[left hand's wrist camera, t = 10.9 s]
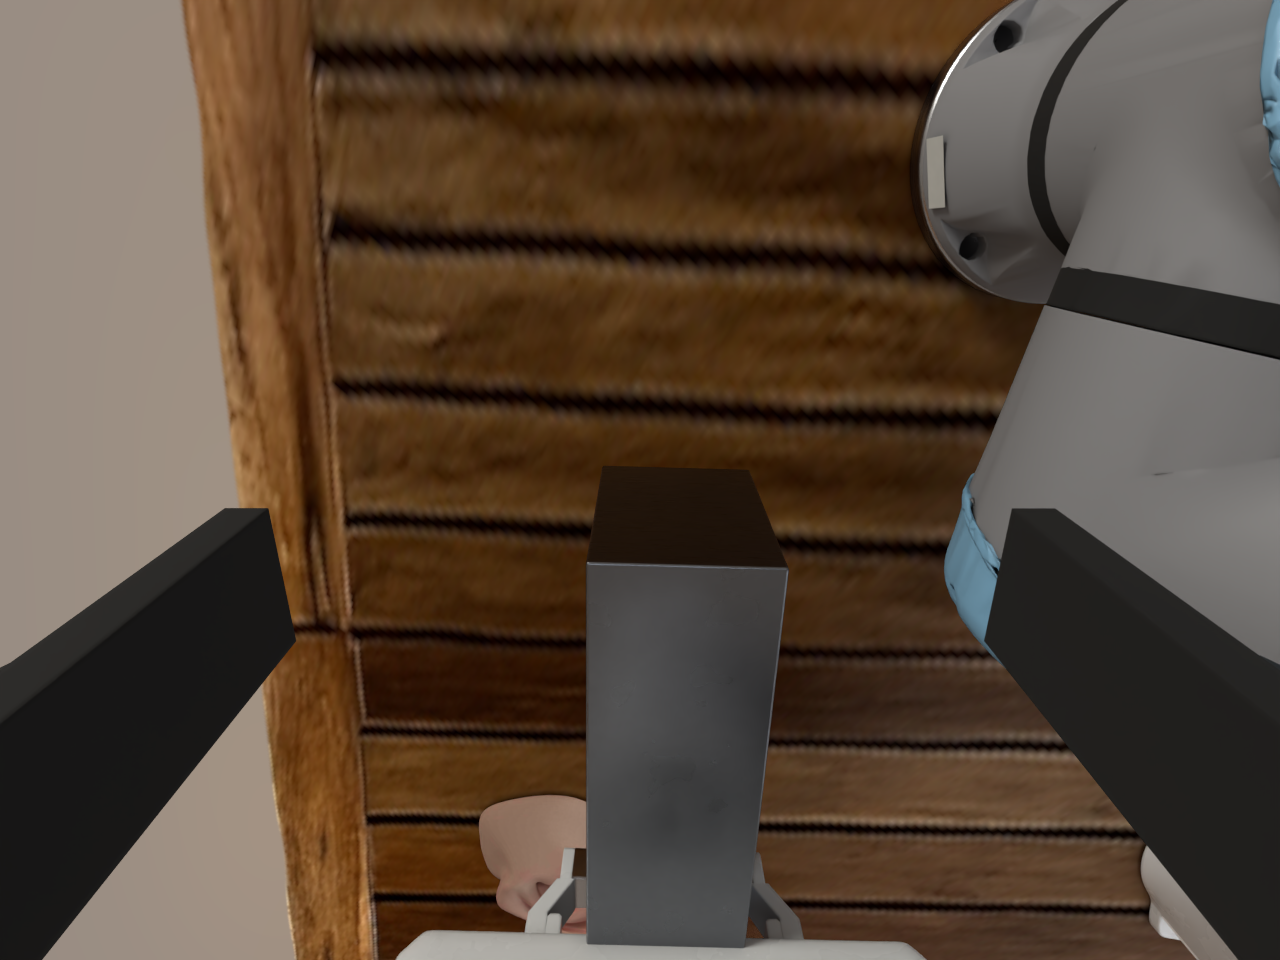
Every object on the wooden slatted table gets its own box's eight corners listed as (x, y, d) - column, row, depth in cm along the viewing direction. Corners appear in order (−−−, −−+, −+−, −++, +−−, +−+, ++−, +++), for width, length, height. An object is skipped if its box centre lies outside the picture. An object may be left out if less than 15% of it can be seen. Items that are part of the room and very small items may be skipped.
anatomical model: (438, 865, 50) (579, 810, 48) (452, 820, 54) (583, 767, 52) (531, 977, 54) (664, 930, 52) (538, 928, 58) (662, 882, 56)
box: (602, 465, 28) (585, 562, 20) (749, 469, 28) (789, 568, 20) (599, 865, 36) (586, 1047, 28) (714, 868, 36) (732, 1051, 28)
